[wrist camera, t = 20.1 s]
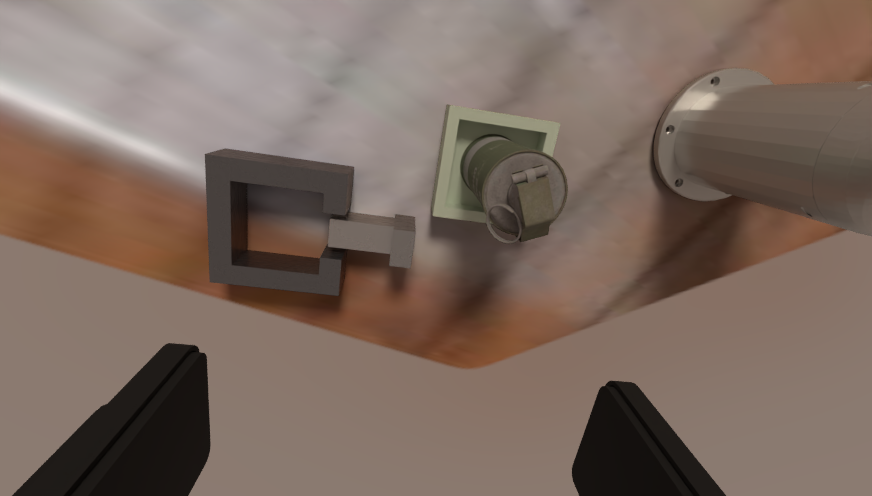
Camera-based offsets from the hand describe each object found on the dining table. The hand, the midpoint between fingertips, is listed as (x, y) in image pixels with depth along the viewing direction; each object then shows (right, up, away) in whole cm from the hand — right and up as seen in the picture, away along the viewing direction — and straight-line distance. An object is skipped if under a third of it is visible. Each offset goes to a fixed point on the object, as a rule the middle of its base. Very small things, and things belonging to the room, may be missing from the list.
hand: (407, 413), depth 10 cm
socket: (-14, +7, +31) cm, 35 cm away
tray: (+6, +12, +31) cm, 33 cm away
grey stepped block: (-6, +6, +32) cm, 33 cm away
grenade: (+6, +12, +30) cm, 32 cm away
